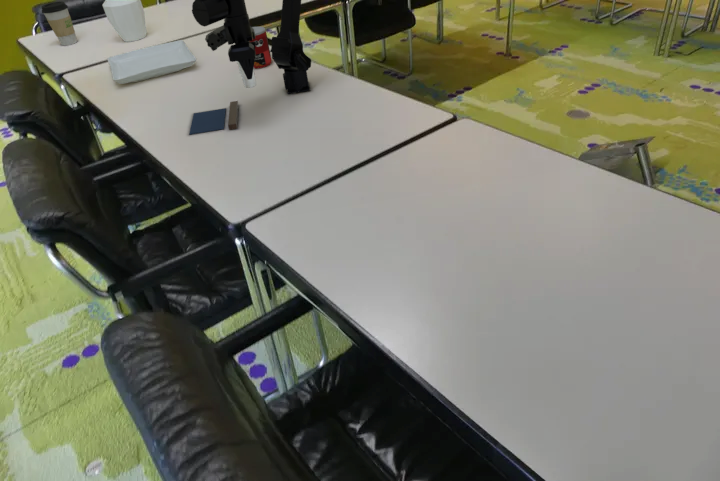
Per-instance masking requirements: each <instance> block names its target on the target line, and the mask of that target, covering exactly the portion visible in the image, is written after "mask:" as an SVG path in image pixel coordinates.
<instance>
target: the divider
mask: <svg viewBox="0 0 720 481" xmlns="http://www.w3.org/2000/svg"><path fill="white" fill-rule="evenodd" d="M238 121H239V102H238V100H235V101H230V102H229V110H228V121H227V126H228V130H229V131H232V130H233V131H234V130H238Z"/></svg>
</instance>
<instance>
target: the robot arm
mask: <svg viewBox="0 0 720 481" xmlns="http://www.w3.org/2000/svg"><path fill="white" fill-rule="evenodd" d="M281 4H282V5H281V15H280V16H281V18H280V27H279V28H280V29H279V32H278V34H277V35H276V36H272V37H271V48H270V53H271V59H272V61H274V63H275V64H276V66H277V68H278V69H279V70H283V73H282V78H283V84H284V90H285V91H287V95H291V94H297V93H304V92H309V91H311V87H310V82H309V78H308V72H307V71H309V69H310V68H312V59H311V58H310V57H309V56H308V55H306V53H304V45H303V42H302V39H301V36H300V33H299V30H300V20H301V8H302V0H282V3H281ZM191 8H192V9H191V13H192V16H193V19H194V20H195V21H196V23H197V24H198V25H200V26H201V27H208V26H210V25H213V24H216V23H218V22H220V21H223V25H221V26H219V27H217V28H215V29H214V30H212V31H210V32H209V33H207V34H206V35H205V38H204V40H205V41H206V43H207V47H208V48H209V49H211V51H212V52H215V51H217V50H218V48H220V47H221V46H224V45H226V44H227V45H228V46H229V45H230V47H229V48H228V51H227V55H228V60H229V62H232V63H233V62H236V61H238V62H239V63H240V65H241V67H242V69H243V71H244V73H245V75H246V77H247V79H252V75H253V68H254V62H255V58H256V51H255V46H256V42H250V41H253V39H255V32H254V29H253V28H252V27H253V26H251V23H250V17H249V13H248V11H247V5H246V2H245V0H194V1H193V2H192V6H191ZM254 69H255V68H254Z"/></svg>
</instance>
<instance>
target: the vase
mask: <svg viewBox="0 0 720 481" xmlns="http://www.w3.org/2000/svg"><path fill="white" fill-rule="evenodd" d="M101 6H102V8H103V11H104V13H105V16H106V18H107V20H108V22H109V23H110V25H111V27H113V30H114V31H115V32H116V33H117V35H118V36H119V37H120V38H121V39H122V40H123V41H124V43H125V42H126V43H130V42H131V43H132V42H136V41H139V40H142V39H145V37H146V36H147V34H148V33H147V25H146V15H145V10H144V6H143V3H142V0H104V1H103V3H102V5H101Z"/></svg>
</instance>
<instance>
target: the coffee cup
mask: <svg viewBox="0 0 720 481" xmlns="http://www.w3.org/2000/svg"><path fill="white" fill-rule="evenodd" d="M41 13H42V14H43V15H44V16H45V19H46V21H47V22H48V24H49V26H50V28H51V29H52V32H53V33H54V35H55V36H56V37H57V39H58V41H59V43H60V45H61V46H71V45H74V44H76V43H77V42H78V39H77V36H76V31H75V28H74V24H73V21H72V17H71V15H70V13H69V6H68V5H67V4H66V3H65V2H64V1H53V2H49V3H46V4H43V5H41Z"/></svg>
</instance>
